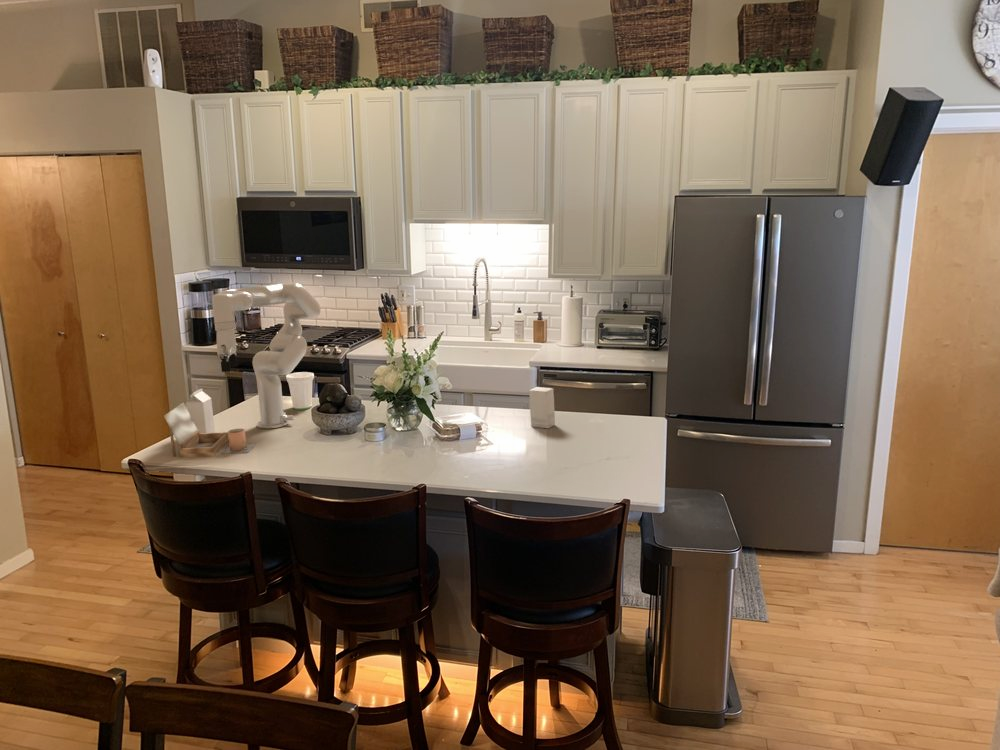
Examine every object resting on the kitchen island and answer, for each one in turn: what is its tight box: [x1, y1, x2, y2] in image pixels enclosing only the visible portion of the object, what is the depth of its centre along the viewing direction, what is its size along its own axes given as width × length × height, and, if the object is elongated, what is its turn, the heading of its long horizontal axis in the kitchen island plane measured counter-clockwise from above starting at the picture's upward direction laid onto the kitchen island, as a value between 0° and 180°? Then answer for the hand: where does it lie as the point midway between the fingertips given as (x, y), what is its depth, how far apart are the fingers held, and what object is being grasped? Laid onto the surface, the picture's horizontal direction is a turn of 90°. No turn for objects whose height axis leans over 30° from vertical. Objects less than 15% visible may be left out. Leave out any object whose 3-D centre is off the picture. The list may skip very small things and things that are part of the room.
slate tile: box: [220, 443, 256, 455], centre depth 285 cm, size 10×10×1 cm
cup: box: [285, 371, 315, 411], centre depth 345 cm, size 12×12×15 cm
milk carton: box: [185, 388, 216, 433], centre depth 303 cm, size 7×7×19 cm
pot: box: [227, 428, 247, 451], centre depth 285 cm, size 6×6×7 cm
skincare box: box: [528, 386, 556, 429], centre depth 306 cm, size 8×7×16 cm
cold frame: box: [163, 402, 229, 458], centre depth 286 cm, size 16×20×16 cm
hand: (229, 369), depth 295 cm, fingers open, 9 cm apart
